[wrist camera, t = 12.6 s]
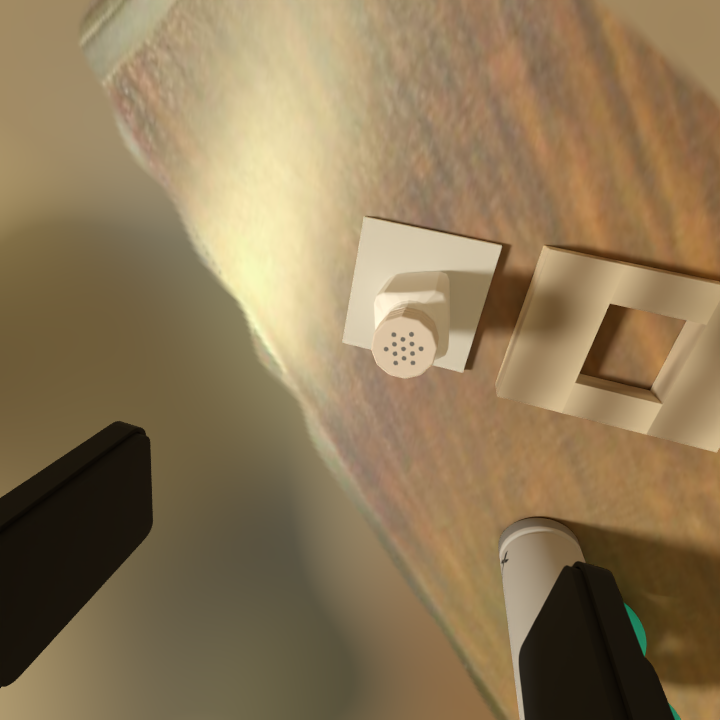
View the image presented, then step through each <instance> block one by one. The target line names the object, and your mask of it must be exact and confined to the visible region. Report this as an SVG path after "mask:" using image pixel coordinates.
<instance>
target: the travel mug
mask: <svg viewBox="0 0 720 720" xmlns="http://www.w3.org/2000/svg"><path fill="white" fill-rule="evenodd" d="M498 548H499V556H500V562H501V563H500V564H501V572H502V580H503V588H504V596H505V604H506V612H507V620H508V628H509V636H510V644H511V652H512V660H513V668H514V676H515V684H516V692H517V700H518V708H519V716H520V720H525V718H524V709H523V700H522V691H521V683H520V674H519V652H520V648H521V646H522V644H523V642H524V640H525V638H526V636H527V634H528V632H529V631H530V629H531V627H532V625H533V623H534V621H535V619H536V617H537V616H538V614H539V612H540V610H541V608H542V606H543V604H544V602H545V601H546V599H547V597H548V595H549V593H550V591H551V589H552V587H553V586H554V584H555V582H556V580H557V578H558V576H559V574H560V572H561V571H562V569H563V567H564V566H566V565H568V566H571V567H572V566H573V564H574V563H575V562H577V561H581V562H584V563H586V562H585V559H584V557H583V554H582V551H581V548H580V545H579V542H578V540H577V538H576V536H575V535H574V534H573V532H572V531H571V530H569V529H568V528H567V527H566V526H564V525H562V524H561V523H559V522H556V521H554V520H550V519H546V518H528V519H523V520H520V521H517V522H515V523H513V524H512V525H510V526H509V527H508V528H507V529H506V530H505V531H504V532H503V533H502V535H501V537H500V540H499V547H498Z"/></svg>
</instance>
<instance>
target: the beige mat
mask: <svg viewBox="0 0 720 720" xmlns="http://www.w3.org/2000/svg"><path fill="white" fill-rule="evenodd" d="M501 248H502V245H501V244H496V243H491V242H486V241H482V240H477V239H472V238H467V237H463V236H458V235H453V234H448V233H443V232H439V231H434V230H429V229H424V228H420V227H415V226H410V225H405V224H401V223H396V222H391V221H386V220H382V219H377V218H372V217H367V216H365V217H364V219H363V225H362V231H361V237H360V243H359V248H358V254H357V260H356V266H355V272H354V277H353V283H352V289H351V295H350V301H349V306H348V312H347V318H346V324H345V330H344V335H343V341H342V343H346V344H350V345H354V346H358V347H362V348H366V349H370V350H371V346H372V341H373V335H374V332H375V315H374V302H375V299H376V296H377V294H378V293H379V291H380V290H381V289H382V287H383V286H384V285H385V283H386V282H387V281H388V279H389V278H390V277H391V276H393V275H395V274H402V273H420V272H439V271H440V272H443V273H446V274H447V276H448V278H449V289H450V330H449V345H448V351H447V353H446V355H445V356H443V357H441V358H439V359H437V360H434V364H433V365H434V366H438V367H442V368H446V369H450V370H454V371H458V372H462V373H463V370H464V367H465V364H466V361H467V358H468V354H469V351H470V348H471V345H472V341H473V338H474V335H475V332H476V329H477V325H478V322H479V319H480V316H481V313H482V309H483V306H484V303H485V300H486V296H487V293H488V290H489V287H490V284H491V280H492V277H493V274H494V271H495V268H496V264H497V261H498V258H499V255H500V251H501Z"/></svg>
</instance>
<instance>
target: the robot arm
mask: <svg viewBox="0 0 720 720" xmlns="http://www.w3.org/2000/svg"><path fill="white" fill-rule="evenodd" d="M152 524H153V511H152V482H151V453H150V439H149V437H147V436H146V433H145V431H144V429H143V428H141V427H137V426H134V425H131V424H128V423H124V422H121V421H117V422H114V423H112V424H110V425H109V426H107V427H106V428H104V429H103V430H101V431H100V432H99V433H97V434H95V435H94V436H93V437H91V438H90V439H88V440H87V441H85V442H84V443H82V444H81V445H79V446H78V447H76V448H75V449H73V450H72V451H70V452H69V453H67V454H66V455H64V456H63V457H61V458H60V459H58V460H57V461H55V462H54V463H52V464H51V465H49V466H48V467H46V468H45V469H43V470H42V471H40V472H39V473H37V474H36V475H34V476H33V477H31V478H30V479H28V480H27V481H25V482H24V483H22V484H21V485H19V486H18V487H16V488H15V489H13V490H12V491H10V492H9V493H7V494H6V495H4V496H3V497H1V498H0V688H1V687H2V686H3V687H5V686H8V685H10V684H11V683H13V682H14V681H15V680H16V679H17V678H18V677H19V676H20V675H21V674H22V673H23V672H24V671H25V670H26V669H27V668H28V667H29V665H30V664H31V663H32V662H33V661H34V660H35V659H36V658H37V657H38V656H39V655H40V653H41V652H42V651H43V650H44V649H45V648H46V647H47V646H48V645H49V644H50V642H51V641H52V640H53V639H54V638H55V637H56V636H57V635H58V633H60V631H61V630H62V629H63V628H64V627H65V626H66V625H67V624H68V623H69V622H70V620H71V619H72V618H73V617H74V616H75V615H76V614H77V613H78V612H79V610H80V609H81V608H82V607H83V606H84V605H85V604H86V603H87V602H88V601H89V600H90V599H91V597H92V596H93V595H94V594H95V593H96V592H97V591H98V590H99V589H100V588H101V587H102V585H103V584H104V583H105V582H106V581H107V580H108V579H109V578H110V577H111V576H112V574H113V573H114V572H115V571H116V570H117V569H118V568H119V567H120V566H121V564H122V563H123V562H124V561H125V560H126V559H127V558H128V557H129V556H130V554H132V552H133V551H134V550H135V549H136V548H137V547H138V546H139V545H140V544H141V543H142V541H143V540H144V539H145V538H146V537H147V535H148V534H149V532H150V530H151V528H152ZM519 674H520V683H521V691H522V700H523V709H524V718H525V720H675V719H674V716H673V713H672V711H671V708H670V706H669V703H668V701H667V698H666V696H665V693H664V691H663V688H662V686H661V683H660V681H659V678H658V676H657V674H656V672H655V670H654V668H653V666H652V664H651V663H650V662H649V661H648V660H647V659H646V658H645V657H644V654H643V652H642V649H641V647H640V644H639V641H638V639H637V636H636V634H635V631H634V628H633V626H632V623H631V621H630V618H629V615H628V613H627V610H626V608H625V605H624V602H623V600H622V597H621V595H620V592H619V589H618V587H617V584H616V582H615V579H614V577H613V575H612V573H611V572H610V571H609V570H607V569H604V568H600V567H597V566H594V565H591V564H587V563H584V562H581V561H577V562H575V563H574V564H573V566H572V567H571V566H568V565H566V566H564V567H563V569H562V571H561V572H560V574H559V576H558V578H557V580H556V582H555V584H554V586H553V587H552V589H551V591H550V593H549V595H548V597H547V599H546V601H545V602H544V604H543V606H542V608H541V610H540V612H539V614H538V616H537V617H536V619H535V621H534V623H533V625H532V627H531V629H530V631H529V632H528V634H527V636H526V638H525V640H524V642H523V644H522V646H521V648H520V652H519Z"/></svg>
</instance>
